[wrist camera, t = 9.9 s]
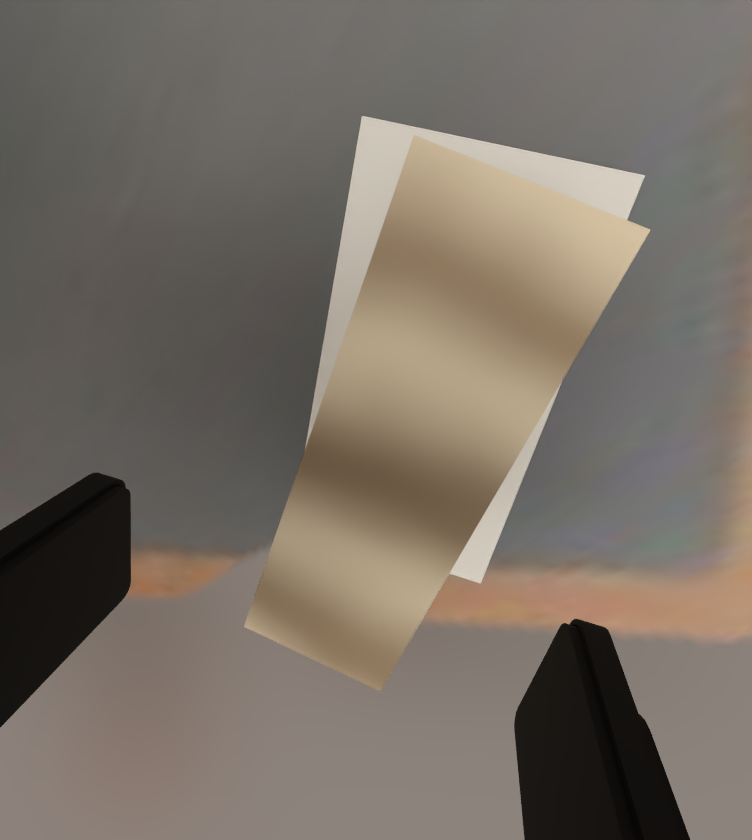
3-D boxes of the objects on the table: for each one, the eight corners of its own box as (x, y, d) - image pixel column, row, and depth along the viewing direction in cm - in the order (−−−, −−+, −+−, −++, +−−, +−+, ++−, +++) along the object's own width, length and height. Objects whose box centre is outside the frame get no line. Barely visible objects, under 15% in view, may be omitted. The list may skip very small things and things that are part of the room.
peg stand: (303, 505, 31) (238, 604, 22) (372, 126, 22) (305, 57, 14) (480, 562, 29) (479, 688, 21) (630, 181, 20) (729, 142, 12)
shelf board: (427, 155, 14) (414, 135, 11) (616, 231, 13) (650, 229, 11) (274, 576, 21) (244, 626, 18) (393, 632, 21) (380, 691, 18)
